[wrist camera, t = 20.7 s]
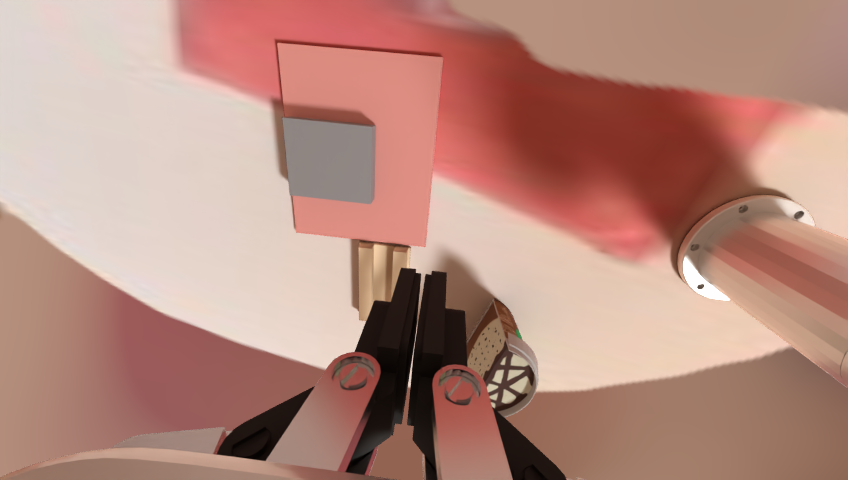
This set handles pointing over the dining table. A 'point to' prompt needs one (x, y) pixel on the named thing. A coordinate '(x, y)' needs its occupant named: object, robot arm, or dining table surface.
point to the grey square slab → (330, 159)
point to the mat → (395, 134)
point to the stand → (379, 273)
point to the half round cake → (503, 360)
